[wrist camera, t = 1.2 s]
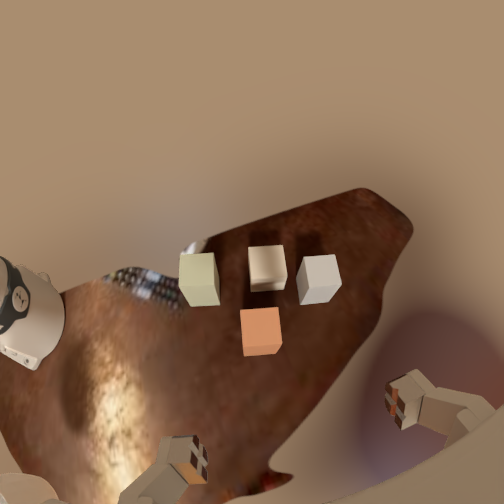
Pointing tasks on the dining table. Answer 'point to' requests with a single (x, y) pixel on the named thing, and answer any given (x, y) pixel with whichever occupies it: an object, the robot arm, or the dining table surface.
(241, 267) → the dining table surface
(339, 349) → the dining table surface
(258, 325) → the terracotta block
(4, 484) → the cup
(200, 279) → the sage block
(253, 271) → the off-white cube
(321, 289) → the light grey block
